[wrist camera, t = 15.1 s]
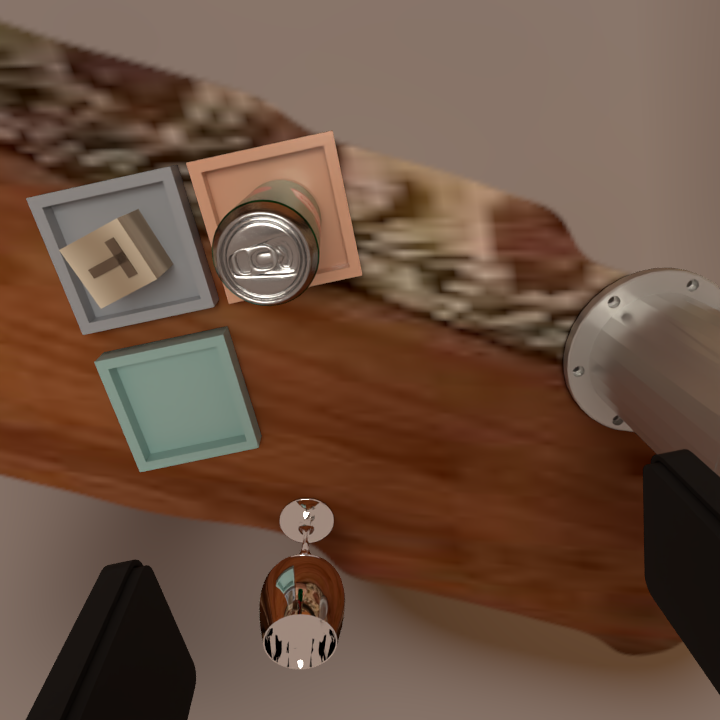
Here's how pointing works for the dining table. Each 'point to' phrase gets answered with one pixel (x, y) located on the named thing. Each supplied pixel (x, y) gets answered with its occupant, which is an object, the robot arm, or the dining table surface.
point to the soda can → (269, 244)
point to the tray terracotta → (292, 163)
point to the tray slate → (167, 221)
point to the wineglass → (302, 593)
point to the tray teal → (180, 399)
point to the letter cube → (117, 258)
